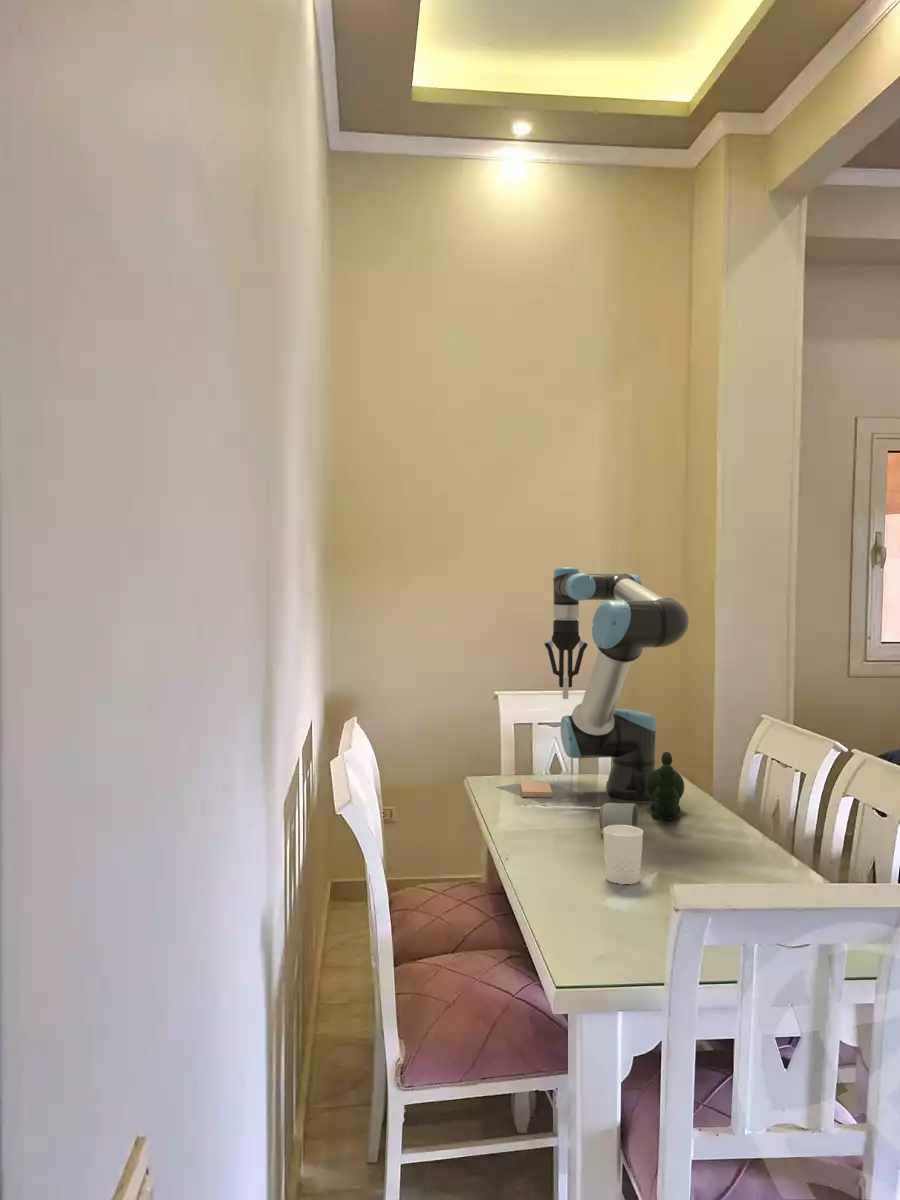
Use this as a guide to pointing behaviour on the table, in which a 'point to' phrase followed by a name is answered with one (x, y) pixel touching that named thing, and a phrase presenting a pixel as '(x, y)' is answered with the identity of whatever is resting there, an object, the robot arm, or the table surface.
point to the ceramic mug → (618, 815)
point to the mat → (556, 795)
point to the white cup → (622, 853)
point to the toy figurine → (665, 790)
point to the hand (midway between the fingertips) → (565, 698)
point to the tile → (535, 789)
